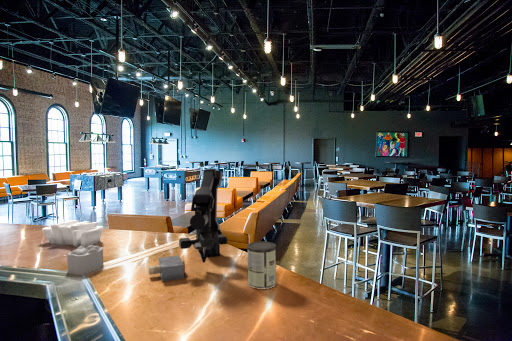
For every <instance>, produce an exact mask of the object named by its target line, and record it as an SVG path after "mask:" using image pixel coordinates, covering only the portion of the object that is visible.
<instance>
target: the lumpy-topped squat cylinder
mask: <svg viewBox="0 0 512 341" xmlns="http://www.w3.org/2000/svg"><path fill="white" fill-rule="evenodd" d="M103 266H104V248H103V247H102V246H98V245H95V244H94V245H90V246H88V247H83V246H81V245H80V246H77V247H76V249H73V250H72V251H70V252H68V253H67V273H69V274H71V273H72V274H75V275H83V274H82V273H85V274H88V273H87V272H89V273H91V272H90V271H92V272H94V271H96V269H97V270H98V268H99V269H101V268H102V267H103ZM100 267H101V268H100ZM93 270H94V271H93Z"/></svg>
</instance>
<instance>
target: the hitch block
mask: <svg viewBox="0 0 512 341" xmlns="http://www.w3.org/2000/svg"><path fill="white" fill-rule="evenodd" d="M182 260H183V259H182V258H181V256H180V255H172V256H164V257H162V256H161V257H158V265H161V273H159V276H160V280H161V282H168V281H174V280H176V281H177V280H182V279H185V272H184V264H183V262H182Z"/></svg>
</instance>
